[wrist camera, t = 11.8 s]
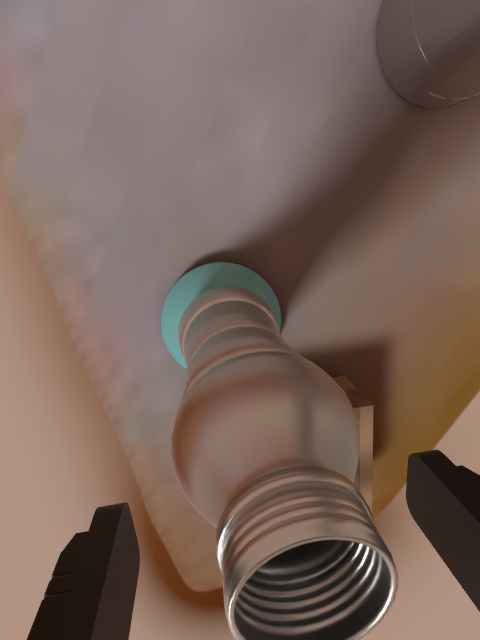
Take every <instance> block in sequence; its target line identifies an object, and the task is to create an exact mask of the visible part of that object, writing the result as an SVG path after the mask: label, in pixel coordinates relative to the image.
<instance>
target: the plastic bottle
mask: <svg viewBox="0 0 480 640" xmlns="http://www.w3.org/2000/svg"><path fill="white" fill-rule="evenodd" d="M178 341H179V346H180V349H181V353H182V355H183V357H184V360H185V362H186V363H187V368H188V373H187V380H186V386H185V390H184V393H183V396H182V399H181V402H180V405H179V408H178V410H177V414H176V418H175V422H174V426H173V432H172V437H171V458H172V462H173V467H174V471H175V473H176V475H177V478H178V480H179V483H180V485H181V487H182V489H183V491H184V493H185V495H186V498H187V499H188V501H189V502H190V503H191V504H192V505H193V506H194V508H195V509H196V510H197V511H198V512H199V513H200V514H201V515H202V516H203V517H204V518H205V519H206V520H207V521H208V522H209V523H210V524H211V525H212V526H214V527H215V528H216V529H217V530H216V553H217V560H218V565H219V568H220V570H221V572H222V577H223V592H224V606H225V612H226V617H227V620H228V625H229V629H230V631H231V633H232V635H233V637H234V639H235V640H360V639H361V638H363V637H364V636H365V635H367V634H368V633H369V632H370V631H372V629H374V627H376V626H377V625H378V624H379V623H380V622H381V620H382V619H383V618H384V616H385V615H386V614H387V613H388V611H389V609H390V607H391V605H392V603H393V601H394V600H395V596H396V592H397V588H398V574H397V570H396V567H395V564H394V562H393V559H392V555H391V553H390V552H389V550H388V548H387V546H386V545H385V543H384V541H383V539H382V538H381V536H380V534H379V532H378V531H377V529H376V527H375V525H374V524H373V518H372V514H371V510H370V508H369V506H368V505H367V503H366V501H365V500H364V498H363V496H362V494H361V493H360V491H359V489H358V488H357V486H356V485H355V484H354V480H355V475H356V470H357V464H358V459H359V454H360V433H359V429H358V426H357V422H356V418H355V415H354V412H353V408H352V405H351V402H350V401H349V399H348V397H347V395H346V393H345V391H344V390H343V389H342V388H341V387H340V386H339V385H338V383H337V382H336V381H335V380H334V379H333V378H332V377H331V376H329V375H328V374H327V373H326V372H325V371H324V370H323V369H321V368H320V367H318V366H317V365H316V364H314V363H313V362H311V361H309V360H308V359H306V358H305V357H303V356H302V355H301V354H299V353H298V352H296V351H295V350H293V349H292V348H291V347H290V346H289V345H288V344H287V343H286V342H285V341H284V340H283V339H282V337H281V335H280V333H279V331H278V326H277V323H276V320H275V317H274V314H273V312H272V310H271V308H270V307H269V305H268V304H267V303H266V302H265V301H264V300H263V298H261V297H260V296H258V295H257V294H256V293H254V292H252V291H249V290H247V289H244V288H239V287H235V286H221V287H215V288H212V289H209V290H207V291H205V292H203V293H202V294H200V295H199V296H197V297H196V298H195V299H194V300H193V301H192V302H191V303H190V305H189V306H188V307H187V308H186V310H185V311H184V313H183V315H182V317H181V319H180V323H179V327H178Z"/></svg>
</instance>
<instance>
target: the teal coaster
mask: <svg viewBox="0 0 480 640" xmlns="http://www.w3.org/2000/svg"><path fill="white" fill-rule="evenodd" d="M221 286H235V287H239V288H244V289H247V290H249V291H252V292H254V293H256V294H257V295H258V296H260V297H261V298H263V300H264V301H265V302H266V303H267V304H268V305H269V307H270V308H271V310H272V312H273V314H274V317H275V320H276V323H277V326H278V331H279V333H280V328H281V311H280V306H279V302H278V300H277V297H276V295H275V293H274V292H273V290H272V288H271V287H270V286H269V284H268V283H267V282H266V281H265V280H264V279H263V278H262V277H261V276H260V275H258V274H257V273H256V272H254V271H253V270H251V269H250V268H248V267H246V266H243V265H241V264H238V263H233V262H227V261H215V262H209V263H205V264H202V265H199V266H197V267H195V268H192V269H191V270H189V271H188V272H186V273H185V274H184V275H182V276H181V277H180V278H179V279H178V280H177V281H176V282H175V284H174V285H173V286H172V288H171V289H170V291H169V293H168V295H167V297H166V300H165V303H164V306H163V310H162V315H161V329H162V335H163V339H164V341H165V344H166V346H167V348H168V350H169V352H170V353H171V355H172V356H173V357H174V358H175V360H176V361H177V362H178V363H179V364H181V365H182V366H183V367H185V368H186V369H188V368H187V363H186V362H185V360H184V357H183V355H182V353H181V349H180V346H179V341H178V327H179V323H180V319H181V317H182V315H183V313H184V311H185V310H186V308H187V307H188V306H189V305H190V303H191V302H192V301H193V300H194V299H195V298H196V297H197V296H199V295H200V294H202V293H203V292H205V291H207V290H209V289H212V288H215V287H221Z"/></svg>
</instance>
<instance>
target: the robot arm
mask: <svg viewBox="0 0 480 640" xmlns="http://www.w3.org/2000/svg"><path fill="white" fill-rule="evenodd" d="M377 45H378V52H379V59H380V62H381V65H382V68H383V71H384V73H385V75H386V77H387V79H388V80H389V82H390V84H391V86H392V87H393V88H394V89H395V90H396V91H397V92H398V93H399V94H400V96H401V97H403V98H404V99H406V100H407V101H409V102H411V103H412V104H415V105H418V106H421V107H424V108H442V107H446V106H451V105H453V104H455V103H458V102H460V101H463V100H467V99H469V98H472V97H474V96H476V95H479V94H480V0H383V3H382V5H381V9H380V14H379V19H378V25H377ZM406 500H407V504H408V508H409V511H410V513H411V515H412V517H413V519H414V520H415V522H416V523H417V525H418V526H419V527H420V529H421V530H422V532H423V533H424V534H425V536H426V537H427V539H428V540H429V541H430V543H431V544H432V545H433V547H434V548H435V550H436V551H437V552H438V554H439V555H440V557H441V558H442V559H443V561H444V562H445V564H446V565H447V566H448V568H449V569H450V571H451V572H452V574H453V575H454V576H455V578H456V579H457V580H458V582H459V583H460V585H461V586H462V588H463V589H464V590H465V591H466V593H467V595H468V596H469V597H470V599H471V600H472V602H473V603H474V604H475V606H476V607H477V609H478V610H479V611H480V475H478V474H476V473H474V472H473V471H471V470H469V469H467V468H466V467H464V466H455V465H454V464H453V463H452V462H451V461H450V460H449V459H448V458H447V457H446V456H445V455H444V454H443V453H442V452H440V451H439V450H431V451H425V452H420V453H414V454H411V455H410V456H409V458H408V470H407V487H406ZM139 564H140V555H139V545H138V540H137V536H136V532H135V528H134V525H133V520H132V516H131V512H130V508H129V505H128V503H120V504H114V505H108V506H103V507H98V508H97V509H96V511H95V514H94V516H93V519H92V522H91V525H90V528H89V531H87V532H81V533H76V534H75V536H74V537H73V538H72V539H71V541H70V542H69V543H68V545H67V546H66V547H65V549H64V550H63V551H62V552H61V554H60V556H59V559H58V561H57V564H56V566H55V569H54V572H53V574H52V580H51V581H50V582H49V584H48V587H47V590H46V592H45V594H44V600H42V602H41V605H40V607H39V610H38V612H37V615H36V617H35V620H34V623H33V625H32V628H31V630H30V633H29V635H28V638H27V640H128V638H129V633H130V626H131V619H132V613H133V606H134V600H135V593H136V587H137V580H138V574H139Z"/></svg>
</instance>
